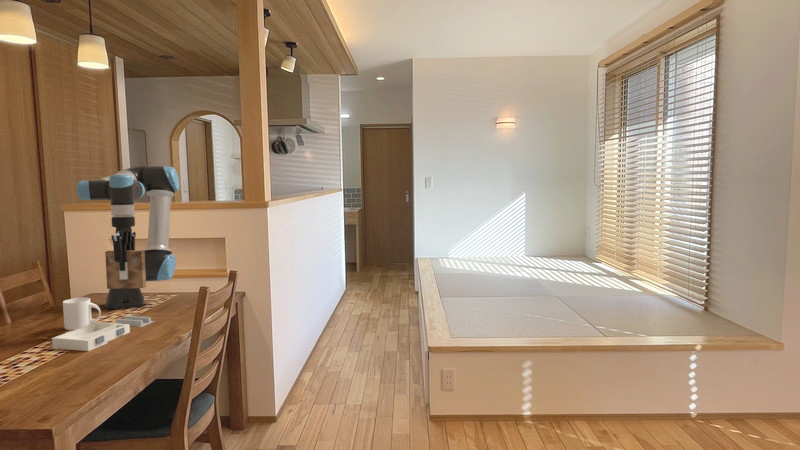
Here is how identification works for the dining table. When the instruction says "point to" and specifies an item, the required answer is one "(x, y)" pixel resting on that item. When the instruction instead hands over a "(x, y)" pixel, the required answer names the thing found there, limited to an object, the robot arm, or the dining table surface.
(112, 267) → the door
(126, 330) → the white tray
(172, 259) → the robot arm
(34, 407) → the dining table surface
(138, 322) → the rack
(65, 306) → the mug
